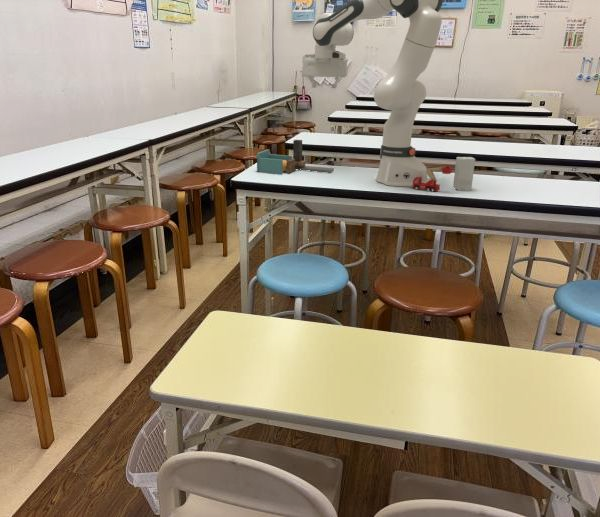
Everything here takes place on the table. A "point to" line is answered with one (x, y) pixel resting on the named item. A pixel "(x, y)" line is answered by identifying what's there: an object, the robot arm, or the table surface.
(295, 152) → the slide kicker
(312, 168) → the kicker rail
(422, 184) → the toy fire truck
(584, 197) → the table surface
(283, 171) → the ball
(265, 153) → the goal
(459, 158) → the skincare box
